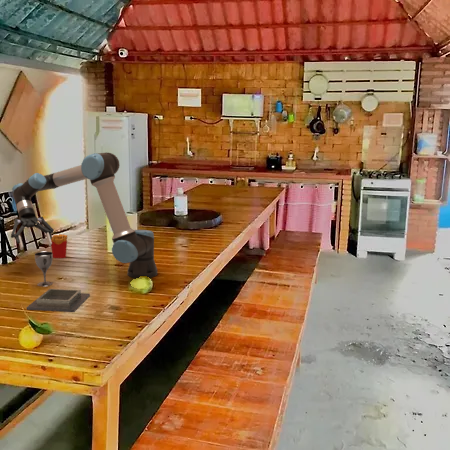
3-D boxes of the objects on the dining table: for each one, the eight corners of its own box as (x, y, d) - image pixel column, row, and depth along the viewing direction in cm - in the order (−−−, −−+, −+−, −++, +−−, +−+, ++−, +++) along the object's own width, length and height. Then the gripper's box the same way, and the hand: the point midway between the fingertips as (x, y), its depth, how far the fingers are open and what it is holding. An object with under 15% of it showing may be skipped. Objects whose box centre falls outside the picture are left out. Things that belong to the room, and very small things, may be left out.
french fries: (50, 258, 289) (49, 235, 286) (52, 256, 293) (51, 234, 290) (67, 258, 290) (67, 235, 288) (68, 256, 295) (68, 233, 292)
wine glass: (35, 287, 240) (34, 256, 237) (36, 281, 248) (35, 251, 245) (53, 286, 242) (52, 255, 239) (54, 280, 250) (53, 251, 247)
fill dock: (89, 295, 231) (89, 288, 230) (74, 311, 211) (73, 303, 211) (46, 293, 232) (46, 286, 231) (26, 309, 213) (26, 301, 212)
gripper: (49, 213, 269) (60, 247, 260) (-2, 217, 254) (8, 254, 245) (52, 204, 263) (63, 239, 254) (0, 208, 249) (10, 245, 240)
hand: (36, 246), depth 250 cm, fingers open, 13 cm apart
